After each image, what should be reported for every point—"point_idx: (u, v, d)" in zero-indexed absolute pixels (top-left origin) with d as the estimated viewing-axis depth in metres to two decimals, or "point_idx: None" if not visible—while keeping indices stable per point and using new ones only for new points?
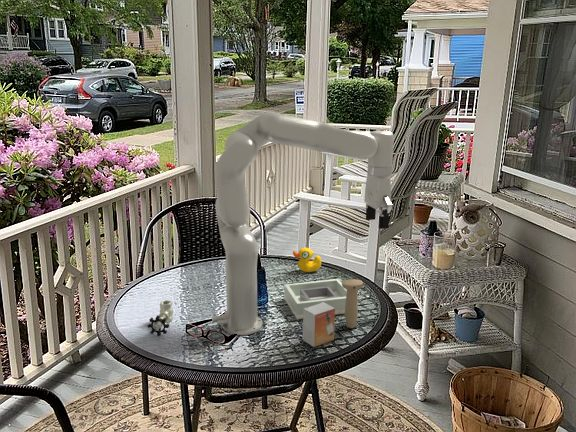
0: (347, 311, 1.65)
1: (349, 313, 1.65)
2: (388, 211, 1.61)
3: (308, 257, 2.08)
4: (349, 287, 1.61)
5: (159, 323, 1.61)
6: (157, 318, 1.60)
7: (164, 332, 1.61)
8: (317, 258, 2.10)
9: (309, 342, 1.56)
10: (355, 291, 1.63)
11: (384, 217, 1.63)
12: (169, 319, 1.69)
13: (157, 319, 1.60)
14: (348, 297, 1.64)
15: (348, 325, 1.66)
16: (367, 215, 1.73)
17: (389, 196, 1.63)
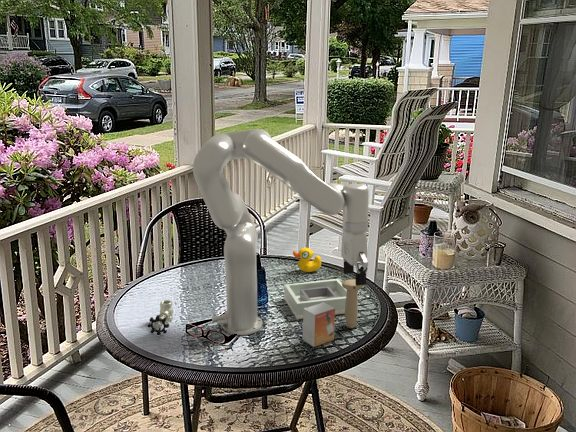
0: (347, 311, 1.65)
1: (349, 313, 1.65)
2: (364, 268, 1.54)
3: (308, 257, 2.08)
4: (349, 287, 1.61)
5: (159, 323, 1.61)
6: (157, 318, 1.60)
7: (164, 332, 1.61)
8: (317, 258, 2.10)
9: (309, 342, 1.56)
10: (355, 291, 1.63)
11: (361, 274, 1.57)
12: (169, 319, 1.70)
13: (157, 319, 1.60)
14: (348, 297, 1.64)
15: (348, 325, 1.66)
16: (345, 269, 1.67)
17: (365, 252, 1.56)
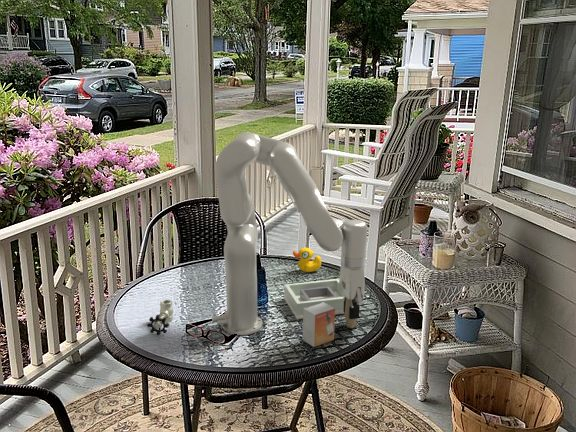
0: (347, 311, 1.65)
1: None
2: (357, 305, 1.60)
3: (308, 257, 2.08)
4: None
5: (159, 322, 1.61)
6: (157, 317, 1.60)
7: (164, 331, 1.61)
8: (317, 258, 2.10)
9: (309, 342, 1.56)
10: None
11: (354, 308, 1.62)
12: (169, 318, 1.70)
13: (157, 318, 1.60)
14: None
15: (348, 325, 1.66)
16: None
17: (362, 287, 1.59)
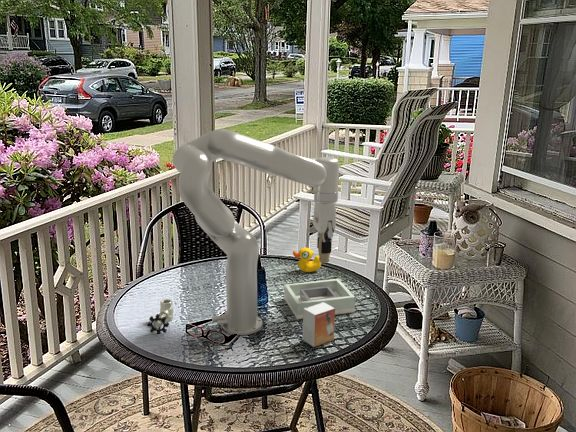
0: (320, 246, 1.72)
1: None
2: (329, 238, 1.68)
3: (308, 257, 2.08)
4: None
5: (159, 322, 1.62)
6: (157, 317, 1.61)
7: (164, 331, 1.62)
8: (317, 258, 2.10)
9: (309, 342, 1.56)
10: None
11: (326, 243, 1.70)
12: (169, 318, 1.70)
13: (157, 318, 1.61)
14: None
15: (321, 260, 1.74)
16: None
17: (334, 221, 1.67)
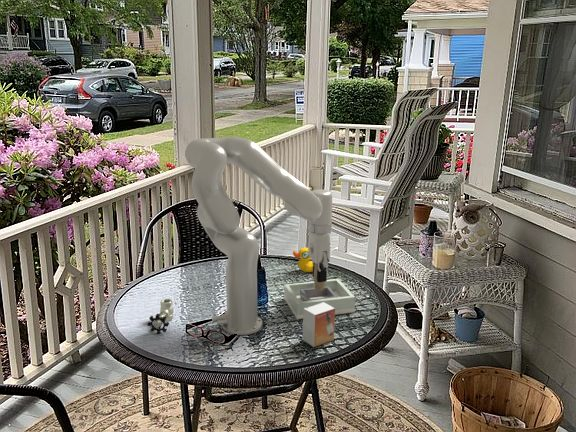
0: (315, 275, 1.78)
1: None
2: (324, 268, 1.73)
3: (308, 257, 2.08)
4: None
5: (159, 321, 1.62)
6: (157, 316, 1.61)
7: (164, 330, 1.62)
8: None
9: (309, 342, 1.56)
10: None
11: (321, 272, 1.75)
12: (169, 317, 1.70)
13: (157, 317, 1.61)
14: None
15: (317, 288, 1.79)
16: None
17: (328, 252, 1.72)
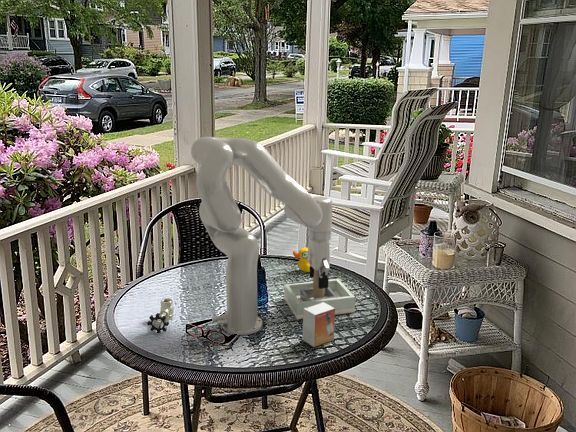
0: (315, 287, 1.79)
1: (316, 288, 1.79)
2: (326, 273, 1.71)
3: None
4: None
5: (159, 321, 1.62)
6: (157, 316, 1.61)
7: (164, 330, 1.62)
8: None
9: (309, 342, 1.56)
10: None
11: (323, 278, 1.73)
12: (170, 317, 1.71)
13: (157, 317, 1.61)
14: (315, 273, 1.78)
15: None
16: (310, 273, 1.83)
17: (328, 259, 1.73)
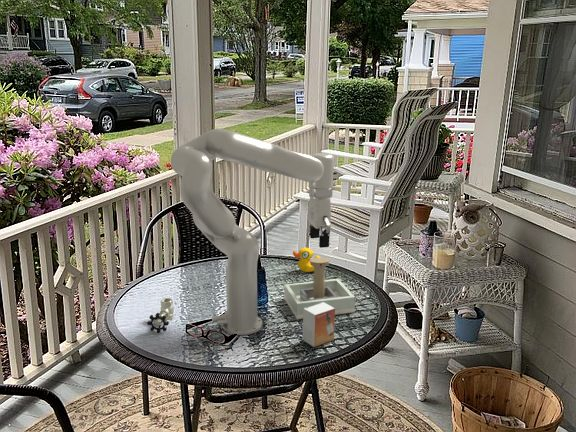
0: (315, 287, 1.79)
1: (316, 288, 1.78)
2: (327, 231, 1.67)
3: (308, 257, 2.08)
4: (316, 264, 1.76)
5: (159, 320, 1.63)
6: (157, 315, 1.61)
7: (164, 329, 1.63)
8: None
9: (309, 342, 1.56)
10: (322, 268, 1.77)
11: (324, 236, 1.69)
12: (170, 317, 1.71)
13: (157, 316, 1.62)
14: (315, 274, 1.78)
15: None
16: (311, 233, 1.79)
17: (329, 216, 1.69)
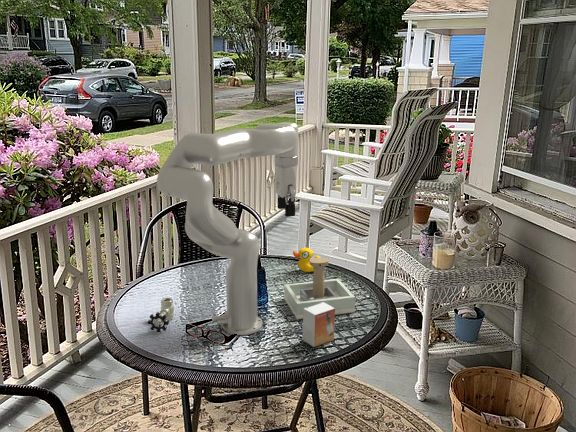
0: (314, 287, 1.79)
1: (316, 288, 1.78)
2: (292, 199, 1.67)
3: (308, 257, 2.08)
4: (315, 264, 1.75)
5: (159, 320, 1.63)
6: (157, 315, 1.62)
7: (164, 329, 1.63)
8: None
9: (309, 342, 1.56)
10: (321, 268, 1.77)
11: (289, 205, 1.70)
12: (170, 316, 1.71)
13: (157, 316, 1.62)
14: (315, 274, 1.78)
15: None
16: (278, 204, 1.80)
17: (294, 185, 1.69)
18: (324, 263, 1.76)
